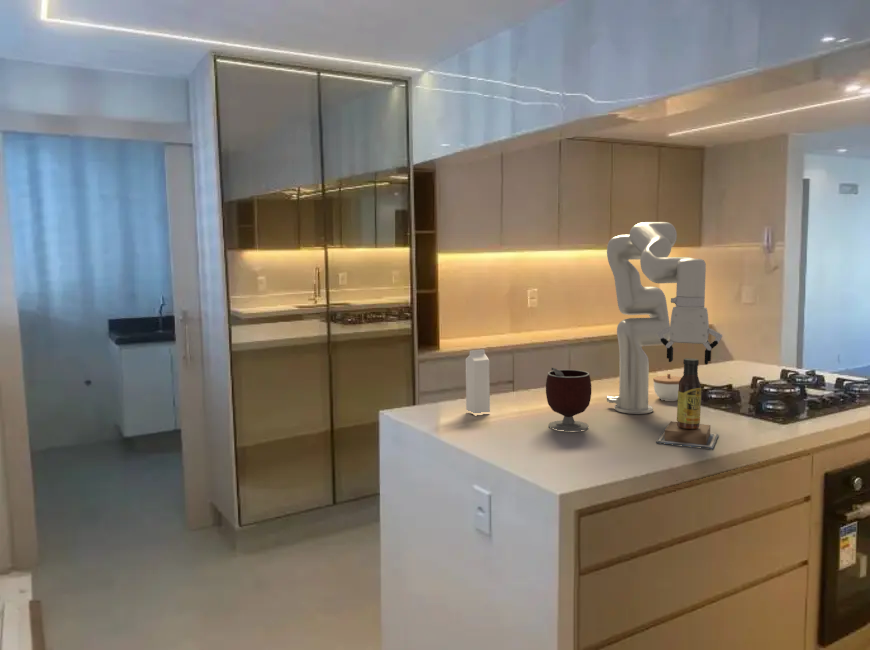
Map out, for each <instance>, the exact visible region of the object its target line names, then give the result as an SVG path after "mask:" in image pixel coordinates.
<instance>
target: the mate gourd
mask: <svg viewBox="0 0 870 650" xmlns="http://www.w3.org/2000/svg"><path fill="white" fill-rule="evenodd" d="M591 379H592V378H591V375H590V372H588V371H586V370H580V369H557V368H555V367H551V369H550V371H548V372H547V377H546V380H545V381H546V382H545V394H546V401H547V404H548V406H549V407H550V409H551V410H552V411H553V412H555V413H557V414H559V415H561V416H563V419H562V420H555V421H552V422H549V423H548V428H549V427H551V428H554V429H557V430H564V431H581V430H585V431H587V430H589V428H588V427H589V424H588V423H586V422H583V421H579V420H575V419H574V416H577V415H579V414H581V413H584V412H585V411H586V410H587V408H588V407H589V406H590V402H591V398H592V380H591ZM586 429H587V430H586Z"/></svg>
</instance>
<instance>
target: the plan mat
mask: <svg viewBox="0 0 870 650" xmlns="http://www.w3.org/2000/svg"><path fill="white" fill-rule="evenodd" d="M718 438H719V433H711V424H703V423H699V428H697V429H683V428H679V427H678V426H677V421H674V420H673V421H670V422H669V423H668V425H667V426H666V428H664V429H663V431H662V432H661V434H660V435H659V437H658V438H657V439H656V441H655V444H656V443H665V444H673V445H672V446H674V445H682V446H681V447H683V446H691V447H690V448H692V447H701V448H709V449H708V450H710V449H713V450H714V448H715V446H716V443H717V441H718ZM716 440H717V441H716ZM715 442H716V443H715ZM714 445H715V446H714ZM713 447H714V448H713ZM701 448H700V449H701Z"/></svg>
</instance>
